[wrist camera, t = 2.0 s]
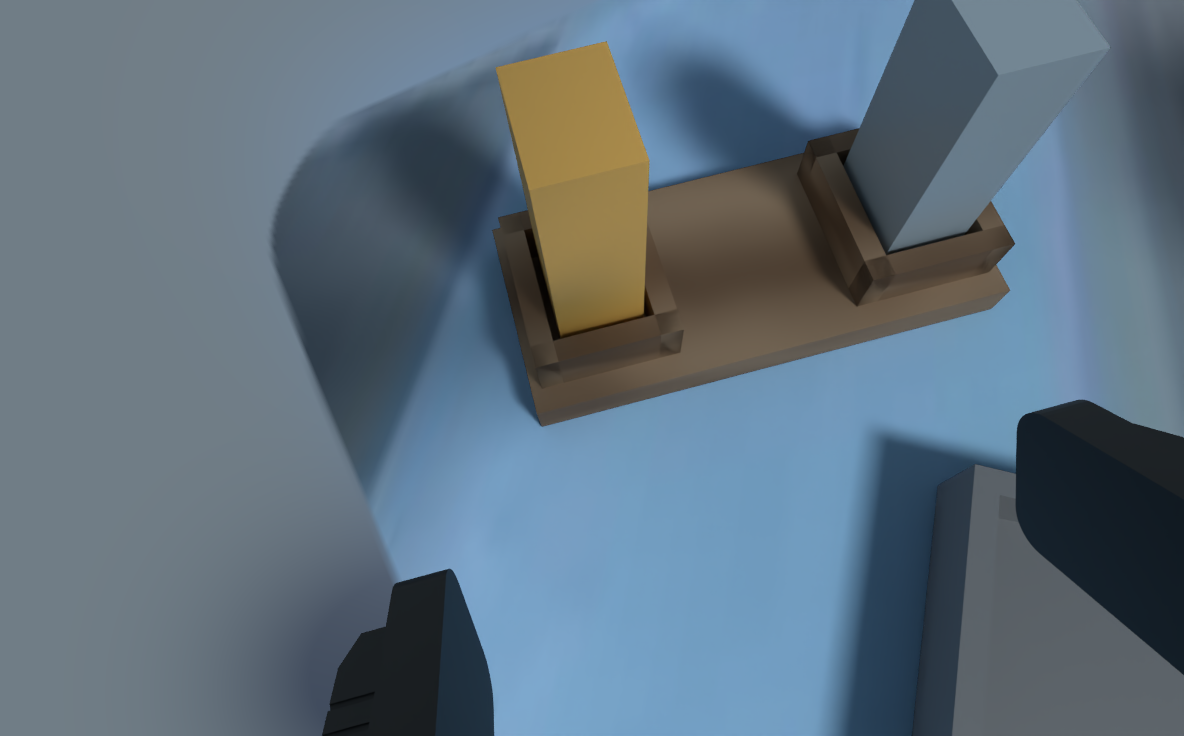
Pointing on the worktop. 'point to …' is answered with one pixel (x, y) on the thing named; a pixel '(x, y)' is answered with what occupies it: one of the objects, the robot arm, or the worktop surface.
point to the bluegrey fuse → (964, 110)
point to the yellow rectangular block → (581, 183)
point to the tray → (1025, 635)
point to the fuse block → (746, 284)
